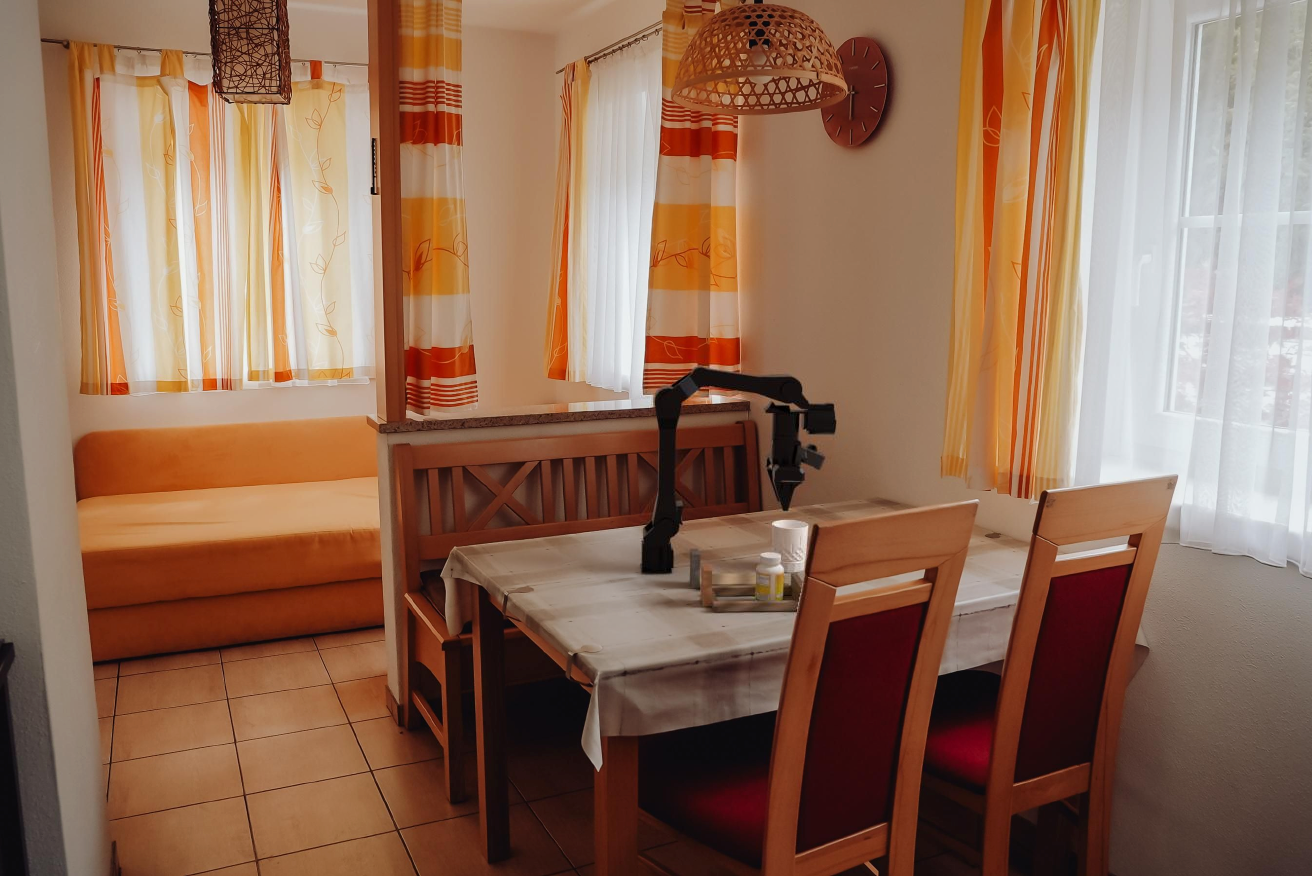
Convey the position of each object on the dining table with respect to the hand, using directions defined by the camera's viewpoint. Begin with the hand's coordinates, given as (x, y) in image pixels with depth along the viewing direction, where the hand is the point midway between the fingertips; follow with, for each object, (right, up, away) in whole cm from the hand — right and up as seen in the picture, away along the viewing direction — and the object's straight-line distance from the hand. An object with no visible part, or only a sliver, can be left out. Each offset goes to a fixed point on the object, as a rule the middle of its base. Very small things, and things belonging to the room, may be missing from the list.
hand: (782, 506), depth 210 cm
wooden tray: (-8, -17, -20) cm, 27 cm away
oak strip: (-9, -16, -9) cm, 20 cm away
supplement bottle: (-5, -18, -20) cm, 27 cm away
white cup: (+2, -14, +4) cm, 15 cm away
